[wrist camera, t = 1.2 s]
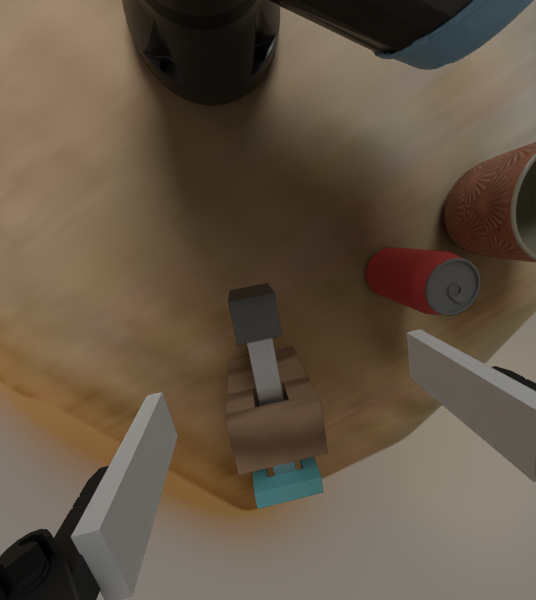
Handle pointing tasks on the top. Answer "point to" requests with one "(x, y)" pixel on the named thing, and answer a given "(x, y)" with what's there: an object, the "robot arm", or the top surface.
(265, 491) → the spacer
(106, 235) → the top surface
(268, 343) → the shaft
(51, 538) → the robot arm
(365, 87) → the top surface
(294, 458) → the bearing block
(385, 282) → the beer can
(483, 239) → the planter
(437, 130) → the top surface
